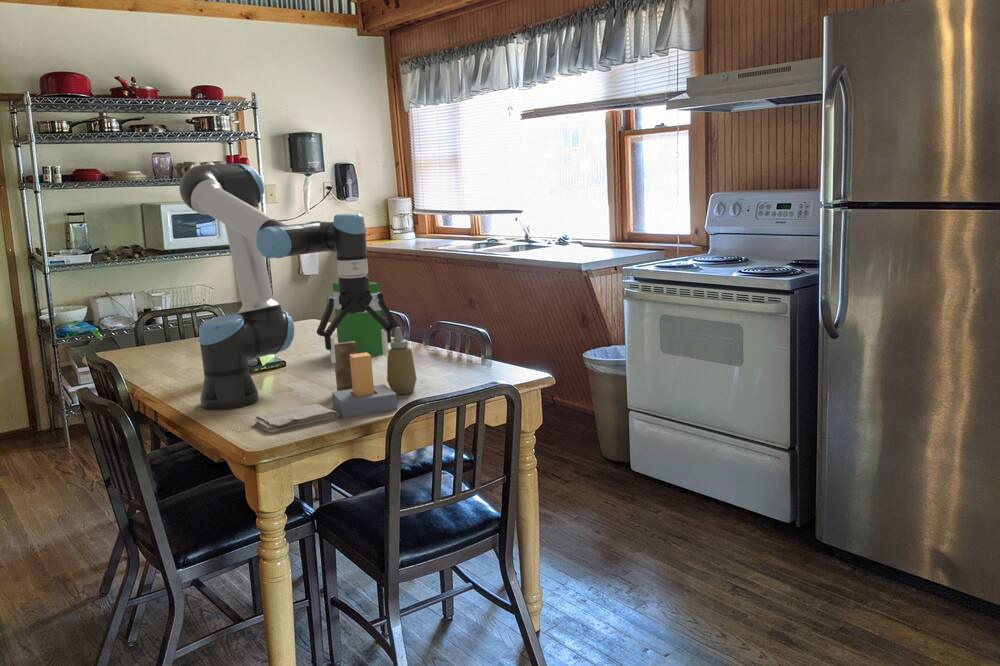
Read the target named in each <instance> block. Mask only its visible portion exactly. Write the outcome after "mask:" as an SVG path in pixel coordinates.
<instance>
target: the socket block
mask: <svg viewBox="0 0 1000 666" xmlns="http://www.w3.org/2000/svg"><path fill="white" fill-rule="evenodd" d="M331 396H332V398H331V399H332V406H333V408H334V409H335V411H336V412H337V413H338V414H339V416H341V417H342V418H343V419H346V418H351V417H356V416H357V417H358V416H363V415H371V414H377V413H381V412H389V411H394V410H399V409H398V407H399V406H398V394H396V393H395V392H393V391H392V390H391V388H390V387H389V386H387V385H386V384H385V383H383V384H376V385H374V394H373V395H366V396H360V397H354V396H353V389H348V390H342V391H337V390H335V391H332V392H331Z"/></svg>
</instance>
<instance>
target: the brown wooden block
mask: <svg viewBox="0 0 1000 666" xmlns="http://www.w3.org/2000/svg"><path fill="white" fill-rule="evenodd" d="M334 346H335V358H336V363H334V370H335V380H336V391H342V390H348V389H353V387H352V376H351V365H350V355H351V354H357V349H356V342H355V341H350V342H342V343H338V342H336V343H335V342H334Z"/></svg>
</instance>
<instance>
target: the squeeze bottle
mask: <svg viewBox="0 0 1000 666" xmlns="http://www.w3.org/2000/svg"><path fill="white" fill-rule="evenodd" d="M408 343H409V341H408V339H404V337H403V333H402V330H401V327H399V326H397V327H395V329H394V337H393V340H391V342H390V343H389V345H390V348H388V355H389V356H387V357H386V358H387V365H386V370H387V371H386V375H387V376H386V381H387V383H388V385H389V386H388V387H389V388H390V389H391V390H392V391H393V392H395V393H396V394H397V395H407V394H410V393H413V392H414V389H415V387H416V382H417V373H416V367H415V362H414V356H413V351H412V348H411V347H408V346H409V345H408Z"/></svg>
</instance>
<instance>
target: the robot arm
mask: <svg viewBox="0 0 1000 666" xmlns="http://www.w3.org/2000/svg"><path fill="white" fill-rule="evenodd" d="M178 189H179V193H180V194H179V196H180V197H181V200H182V201H183V202H184V204H186V206H187V207H188V208H189V209H191V210H192V211H194V212H196V213H197V214H199V215H203V216H207V215H208V216H210V217H212V218H214V219H215V220H217V221H218V222H220V223H222V224H223V225H224V229H225V231H226V232H225V233H226V236H227V240H228V246H229V250H230V254H231V259H232V263H233V268H234V272H235V278H236V281H237V286H238V290H239V296H240V298H241V304H242V306H241V307H240V309H239V310H238V314H235V313H233V314H225V315H220V316H217V317H213V318H212V317H211V318H210V319H207V320H205V321H204V322H202V323H201V324H200V325H199V328H198V333H199V334H198V336H199V338H198V342H199V344H200V353H201V359H202V367H203V375H204V376H203V377H204V379H203V383H202V389H201V393H200V400H199V401H200V407H201V408H202V409H206V410H215V411H216V410H217V411H218V410H231V409H238V408H243V407H247V406H249V405H253V404H254V403H257V402H258V401H259V399H260V398H259V391H258V389H257V386H256V384H255V382H254V379H253V377H252V375H251V373H250V369H249V360H254V359H257V358H261V357H267V356H270V355H277V354H278V353H281V352H283V351H286V350H287V349H288V348H289V347H290V346H291V344H292V342H293V341H294V339H295V338H294V337H295V324H294V321H293V318H292V316H290V314H289V312H287V311H285V310H282V307H281V306H282V305H281V303H279V302H278V301H276V300H275V298H274V296H273V291H272V287H271V285H272V284H271V282H270V276H269V272H268V268H267V263H266V258H267V259H282V258H287V257H293V256H299V255H307V254H314V253H322V252H335V253H336V262H337V264H336V265H337V266H336V267H337V275H338V276H340V277H339V278H338V279H337V280H338V283H339V292H340V295H339V298H334V297H332V296H328V297H327V299H326V307H325V310H324V312H323V315H322V317H321V320H320V321H319V324H318V327H317V330H316V334H317V335H318V336H319V337H323V338H324V345H325V349H326V350H327V351H329V355H330V357H329V358H330V362H331V363H332V364H335V363H336V358H335V346H334V344H335V336H333V333H334V332H335V330H337V326H338V325H339V324H340V322H341V321H342V319H343V318H344V317H345V316H346V315H347V313H351V314H353V313H356V312H359V313H363V312H364V311H365V310H366V311H367V312H368V313H369V314H370V315H371V316H372V317H373V318H374V319H375V320H376V321H377V322H378V323H379V324H380V325H381V326H382V329H383V330H381V333H382V347H383V354H382V356H384V357H388V356H389V355H388V350H389V344H390V342H391V341H392V334H391V333H392V332H391V331H392V329H394V328H397V327H398V323H397V321H396V320H395V317H394V316H393V314H392V313H391V311H390V309H389V308H388V305H387V304H386V302H385V301H384V294H383V293H381V292H380V291H379V292H377V293H376V294H372V295H371V294H370V287H369V282H370V278H369V276H368V274H369V265H368V252H367V251H368V250H367V234H366V232H367V229H366V224H365V217H364V216H363V214H361V213H355V212H354V213H340V214H334V216H333V221H322V220H321V221H319V220H316V221H309V222H306V223H298V224H297V223H296V224H285V223H283V222H281V221H279V220H278V219H276V218H273V217H272V216H270V214H269V215H268V214H266V213H265V212H263V211H261V210H260V205H259V204H260V203H261V202H262V201H263V198H264V194H265V186H264V183H263V179H262V177H261V175H260V173H259V172H258V171H257V170H256V169H255V168H254V167H252V166H251V165H249V164H245V163H236V162H235V163H222V164H221V163H220V164H198V165H196V166H192V167H190V168H189V169H188V170H186V172H184V174H183V175H182V177H181V179H180V181H179V188H178ZM372 299H374V300H375V301H376V302H378V304H379V306H380V308H381V312H382V313H383V314H384V316H385V317H386V320H387V321H388V323H387V322H386V321H385V320H384V319H383V317H382V316H381V317H382V318H381V317H380V316H379V315H378V314H377V313H376V312H375V311H374V310H373V309H372V308H371V307H370V306H369V304H370V302H371V300H372ZM338 302H339V303H340V304H341V306H342V307H341V309H340V310H339V312H338V314H337V315H335V317H334V318H333V320H332V321H331V322H330V324H329V325H328V323H329V321H330V318H331V315H332V314H333V311H334V308H335V306H336V304H337V303H338ZM327 325H328V327H327ZM388 343H389V344H388Z"/></svg>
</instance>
